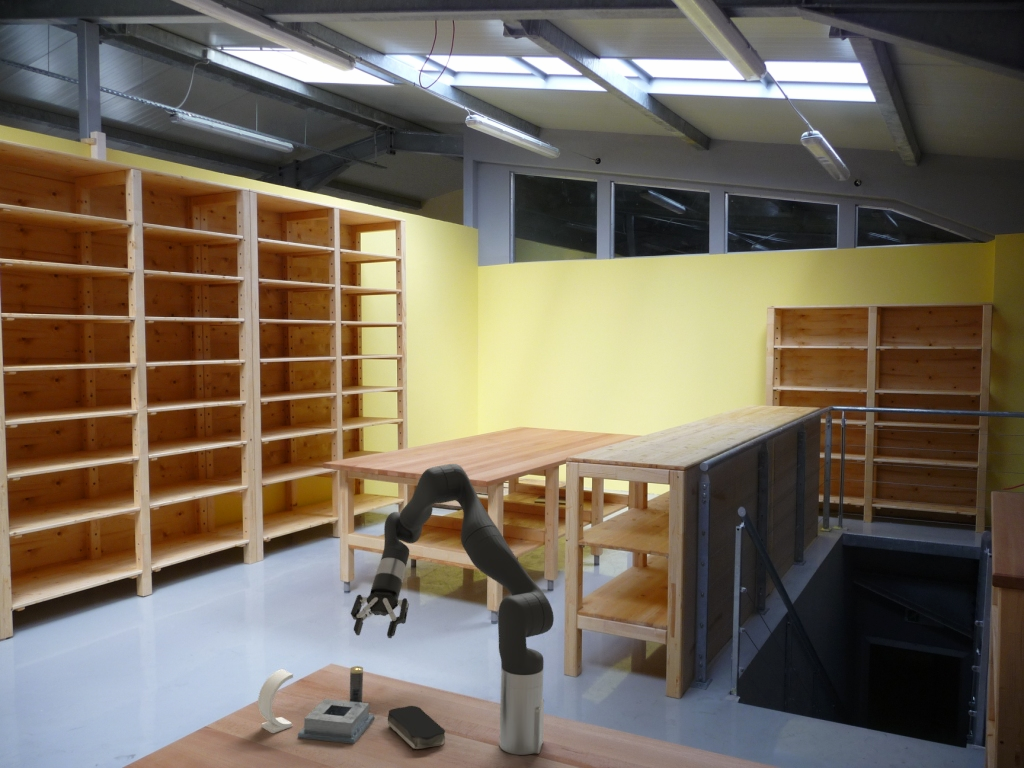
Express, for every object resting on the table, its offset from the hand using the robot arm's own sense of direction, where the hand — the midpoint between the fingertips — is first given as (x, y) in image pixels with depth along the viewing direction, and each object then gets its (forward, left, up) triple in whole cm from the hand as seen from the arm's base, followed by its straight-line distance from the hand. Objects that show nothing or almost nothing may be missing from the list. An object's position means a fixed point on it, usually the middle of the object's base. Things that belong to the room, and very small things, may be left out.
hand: (373, 635), depth 208 cm
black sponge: (-18, +21, -15) cm, 32 cm away
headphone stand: (+14, +25, -14) cm, 32 cm away
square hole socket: (0, +22, -14) cm, 26 cm away
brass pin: (0, +11, -14) cm, 18 cm away
